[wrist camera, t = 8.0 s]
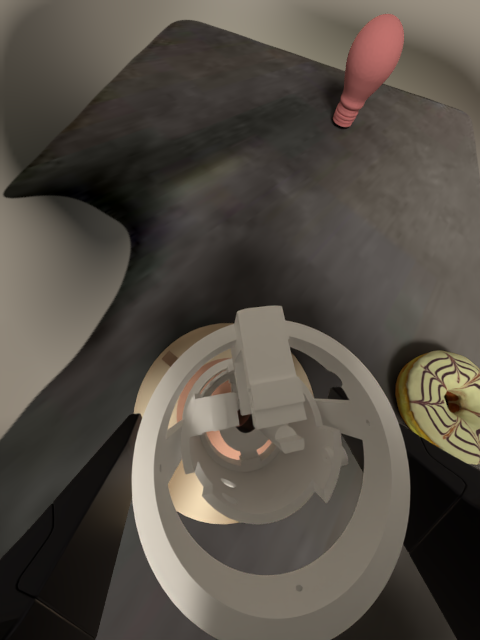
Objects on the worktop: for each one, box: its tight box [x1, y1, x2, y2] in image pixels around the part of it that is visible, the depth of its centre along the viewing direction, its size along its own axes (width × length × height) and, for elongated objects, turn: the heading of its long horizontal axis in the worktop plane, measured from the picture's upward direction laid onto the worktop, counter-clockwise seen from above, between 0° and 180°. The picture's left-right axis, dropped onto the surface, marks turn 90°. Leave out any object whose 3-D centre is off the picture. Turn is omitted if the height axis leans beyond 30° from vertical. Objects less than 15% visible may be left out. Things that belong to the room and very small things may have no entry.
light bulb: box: [333, 14, 404, 127], centre depth 33 cm, size 7×7×12 cm
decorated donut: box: [395, 350, 480, 465], centre depth 22 cm, size 10×11×4 cm
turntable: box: [134, 323, 314, 524], centre depth 19 cm, size 16×16×1 cm
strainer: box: [132, 305, 410, 640], centre depth 11 cm, size 7×7×15 cm
